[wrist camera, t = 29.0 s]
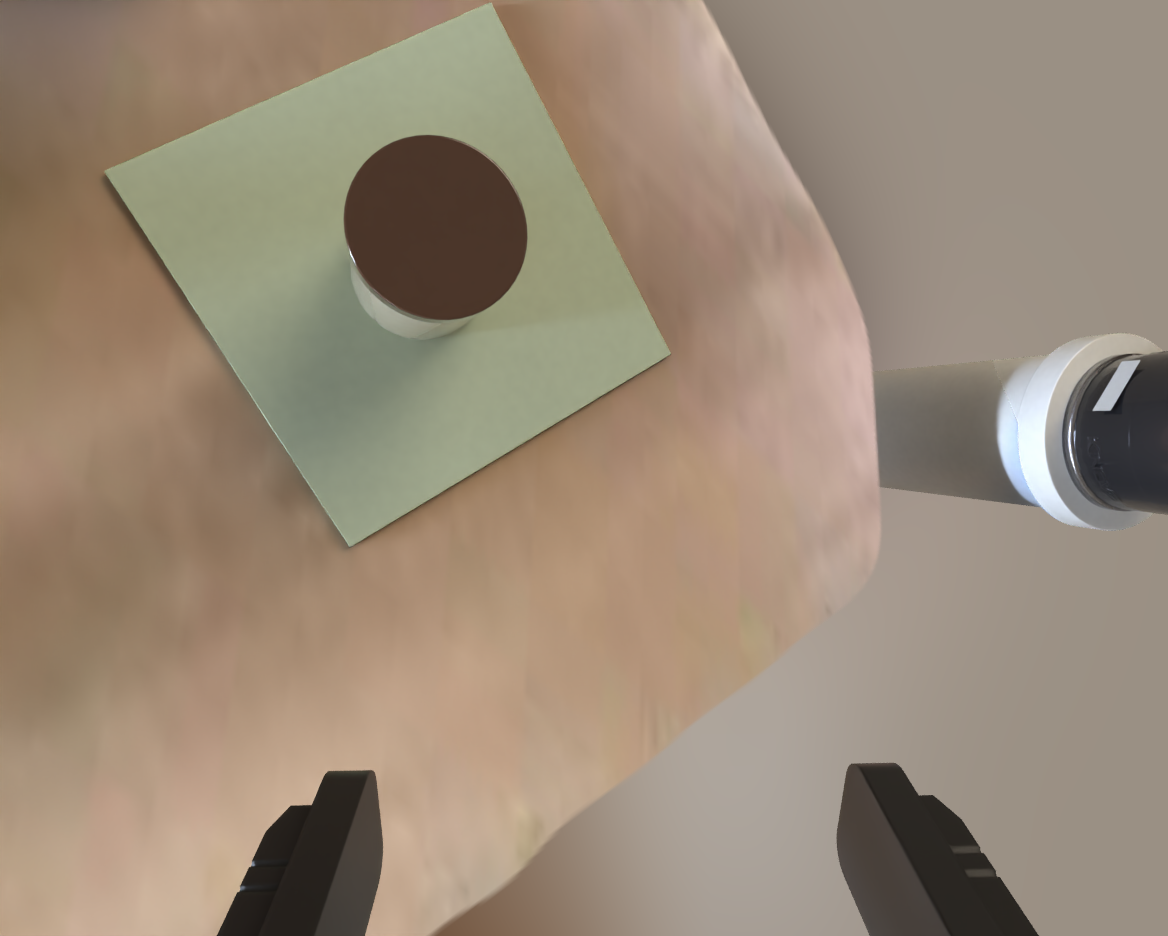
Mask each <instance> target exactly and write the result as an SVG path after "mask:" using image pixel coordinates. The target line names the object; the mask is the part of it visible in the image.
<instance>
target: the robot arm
mask: <svg viewBox="0 0 1168 936" xmlns="http://www.w3.org/2000/svg"><path fill="white" fill-rule="evenodd" d="M1062 448H1063V455H1064V460H1065V464H1066V467H1067V470H1068V473H1069V475H1070V478H1071V480H1072V481H1073V483H1074V485H1075V486H1076V488H1077V489H1078V491H1079V492H1080V493H1081V494H1082V495H1083V496H1084V497H1085V498H1086V499H1087V500H1088V501H1090V502H1091V503H1093V504H1094V505H1096V506H1098V507H1101V508H1104V509H1108V510H1116V511H1141V512H1149V513H1158V514H1166V515H1168V351H1164V352H1153V353H1150V354H1137V353H1132V354H1120V355H1114V356H1110V357H1107V358H1105V359H1103V360H1101V361H1099V362H1097V363H1096V364H1095V365H1093V366H1092V367H1091V368H1090V369H1089V370H1088V371H1087V372H1086V373H1085V374H1084V375H1083V376H1082V377H1081V379H1080V380H1079V382H1078V383H1077V384H1076V386H1075V388H1074V390H1073V392H1072V394H1071V396H1070V398H1069V401H1068V404H1067V407H1066V410H1065V414H1064V419H1063V427H1062ZM837 850H838V856H839V862H840V866H841V869H842V872H843V874H844V877H845V879H846V881H847V884H848V886H849V889H850V891H851V893H852V896H853V898H854V900H855V903H856V905H857V907H858V910H859V912H860V914H861V916H862V919H863V921H864V923H865V926H866V928H867V930H868V933H869V935H870V936H1039V935H1038V934H1037V932H1036V931H1035V930H1034V928H1033V926H1032V925H1031V923H1030V922H1029V920H1028V919H1027V917H1026V916H1025V915H1024V913H1023V911H1022V910H1021V908H1020V907H1019V905H1018V904H1017V902H1016V901H1015V899H1014V898H1013V897H1012V895H1011V894H1010V892H1009V890H1008V889H1007V887H1006V886H1005V884H1004V883H1003V881H1002V880H1001V878H1000V877H997V876H996V871H995V869H994V868H993V866H992V865H991V863H990V862H989V860H988V859H987V857H986V856H985V854H984V853H981V851H980V847H979V845H978V844H977V842H976V841H975V839H974V838H973V836H972V835H971V833H970V832H969V830H968V829H967V827H966V826H965V824H964V822H963V821H962V820H961V819H960V818H959V817H958V816H957V815H956V814H954V813H953V812H952V811H951V810H950V809H948V808H947V807H946V806H945V805H944V804H943V803H942V802H940V801H939V800H938V799H937V798H935V797H934V796H933V795H923V796H919V795H918V794H917V792H916V791H915V789H914V787H913V786H912V784H911V783H910V781H909V779H908V778H907V776H906V774H905V773H904V771H903V770H902V768H901V767H900V766H899V765H897V764H896V763H866V764H851V765H850V766H849V767H848V769H847V773H846V778H845V784H844V791H843V797H842V803H841V810H840V816H839V823H838V828H837ZM382 857H383V838H382V828H381V819H380V810H379V800H378V791H377V781H376V776H375V773H374V771H372V770H365V771H328V772H327V773H326V774H325V776H324V778H323V780H322V782H321V784H320V787H319V789H318V792H317V794H316V797H315V799H314V801H313V804H312V805H302V806H290V807H289V808H288V809H287V810H286V811H285V812H284V813H283V814H282V815H281V816H280V817H279V819H278V820H277V821H276V822H275V823H274V824H273V825H272V826H271V827H270V828H269V829H268V830H267V831H266V832H265V835H264V837H263V839H262V841H261V843H260V845H259V847H258V849H257V852H256V854H255V856H254V858H253V860H252V866H251V867H249V869H248V871H247V873H246V875H245V877H244V879H243V881H242V884H241V886H240V892H237V894H236V896H235V898H234V901H233V903H232V905H231V907H230V909H229V911H228V913H227V916H226V918H225V920H224V922H223V924H222V926H221V928H220V930H219V933H218V935H217V936H365V933H366V929H367V925H368V922H369V918H370V914H371V910H372V907H373V903H374V899H375V895H376V892H377V888H378V884H379V879H380V874H381V867H382Z"/></svg>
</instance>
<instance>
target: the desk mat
mask: <svg viewBox="0 0 1168 936" xmlns="http://www.w3.org/2000/svg"><path fill="white" fill-rule="evenodd" d="M416 135H439V136H444V137H449V138H453V139H456V140H459V141H462V142H465V143H467V144H469V145H471V146H473V147H475V148H477V149H478V150H480V151H481V152H483V153H484V154H486V155H487V156H488V157H489V158H491V159H492V160H493V161H494V162H495V163H496V164H497V165H498V166H499V167H500V168H501V169H502V170H503V171H504V173H505V174H506V175H507V177H508V178H509V179H510V181H511V182H512V184H513V186H514V187H515V189H516V191H517V193H518V195H519V197H520V200H521V202H522V205H523V208H524V212H525V216H526V222H527V233H528V240H527V250H526V255H525V260H524V263H523V266H522V268H521V271H520V273H519V275H518V277H517V279H516V281H515V282H514V284H513V285H512V286H511V288H510V289H509V291H508V292H507V293H506V294H505V295H504V296H503V297H502V298H501V299H500V300H499V301H498V302H496V303H495V304H494V305H493V306H491V307H490V308H489V309H487V310H486V311H484V312H482V313H481V314H479V315H477V316H474V317H473V318H472V319H471V320H470V321H469V322H467V323H466V324H465V325H464V326H463V327H461V328H460V329H458V330H457V331H455V332H453V333H451V334H449V335H447V336H444V337H440V338H436V339H429V340H418V339H410V338H406V337H402V336H399V335H397V334H394V333H392V332H390V331H388V330H387V329H385V328H383V327H382V326H381V325H379V324H378V323H377V322H376V321H374V320H373V319H372V318H371V317H370V316H369V315H368V313H367V312H366V311H365V310H364V308H363V307H362V305H361V304H360V302H359V300H358V298H357V296H356V294H355V291H354V288H353V285H352V281H351V276H350V257H349V254H348V251H347V247H346V242H345V237H344V221H343V217H344V205H345V201H346V196H347V193H348V190H349V187H350V185H351V182H352V180H353V178H354V177H355V175H356V173H357V171H358V170H359V169H360V167H361V166H362V165H363V164H364V162H365V161H366V160H367V159H368V158H369V157H370V156H371V155H372V154H374V153H375V152H376V151H378V150H379V149H381V148H382V147H384V146H386V145H388V144H390V143H391V142H394V141H396V140H399V139H402V138H406V137H411V136H416ZM104 172H105V174H106V175H107V177H108V178H109V180H110V181H111V183H112V184H113V186H114V187H115V189H116V190H117V192H118V193H119V195H120V197H121V198H122V200H123V201H124V203H125V204H126V206H127V207H128V209H129V210H130V212H131V213H132V215H133V216H134V218H135V220H136V221H137V223H138V224H139V226H140V227H141V229H142V230H143V232H144V233H145V235H146V236H147V238H148V239H149V241H150V242H151V244H152V246H153V247H154V249H155V250H156V252H157V253H158V255H159V256H160V258H161V259H162V261H163V262H164V264H165V265H166V267H167V269H168V270H169V272H170V273H171V275H172V276H173V278H174V279H175V281H176V282H177V284H178V285H179V287H180V288H181V290H182V291H183V293H184V295H185V296H186V298H187V299H188V301H189V302H190V304H191V305H192V307H193V308H194V310H195V311H196V313H197V314H198V316H199V318H200V319H201V321H202V322H203V324H204V325H205V327H206V328H207V330H208V331H209V333H210V334H211V336H212V337H213V339H214V340H215V342H216V344H217V345H218V347H219V348H220V350H221V351H222V353H223V354H224V356H225V357H226V359H227V360H228V362H229V363H230V365H231V367H232V368H233V370H234V371H235V373H236V374H237V376H238V377H239V379H240V380H241V382H242V383H243V385H244V386H245V388H246V389H247V391H248V393H249V394H250V396H251V397H252V399H253V400H254V402H255V403H256V405H257V406H258V408H259V409H260V411H261V412H262V414H263V416H264V417H265V419H266V420H267V422H268V423H269V425H270V426H271V428H272V429H273V431H274V432H275V434H276V435H277V437H278V438H279V440H280V442H281V443H282V445H283V446H284V448H285V449H286V451H287V452H288V454H289V455H290V457H291V458H292V460H293V461H294V463H295V465H296V466H297V468H298V469H299V471H300V472H301V474H302V475H303V477H304V478H305V480H306V481H307V483H308V484H309V486H310V487H311V489H312V491H313V492H314V494H315V495H316V497H317V498H318V500H319V501H320V503H321V504H322V506H323V507H324V509H325V510H326V512H327V514H328V515H329V517H330V518H331V520H332V521H333V523H334V524H335V526H336V527H337V529H338V530H339V532H340V533H341V535H342V536H343V538H344V540H345V541H346V543H347V544H348V546H349V547H351V546H353V545H355V544H356V543H358V542H360V541H361V540H363V539H365V538H366V537H368V536H370V535H371V534H373V533H375V532H376V531H378V530H380V529H381V528H383V527H385V526H386V525H388V524H390V523H391V522H393V521H395V520H396V519H398V518H400V517H401V516H403V515H405V514H406V513H408V512H410V511H411V510H413V509H415V508H416V507H418V506H420V505H421V504H423V503H425V502H426V501H428V500H430V499H431V498H433V497H435V496H436V495H438V494H440V493H441V492H443V491H445V490H446V489H448V488H450V487H451V486H453V485H455V484H456V483H458V482H460V481H461V480H463V479H465V478H466V477H468V476H469V475H471V474H473V473H474V472H476V471H478V470H479V469H481V468H483V467H484V466H486V465H488V464H489V463H491V462H493V461H494V460H496V459H498V458H499V457H501V456H503V455H504V454H506V453H508V452H509V451H511V450H513V449H514V448H516V447H518V446H519V445H521V444H523V443H524V442H526V441H528V440H529V439H531V438H533V437H534V436H536V435H538V434H539V433H541V432H543V431H544V430H546V429H548V428H549V427H551V426H553V425H554V424H556V423H558V422H559V421H561V420H563V419H564V418H566V417H568V416H569V415H571V414H573V413H574V412H576V411H578V410H579V409H581V408H583V407H584V406H586V405H587V404H589V403H591V402H592V401H594V400H596V399H597V398H599V397H601V396H602V395H604V394H606V393H607V392H609V391H611V390H612V389H614V388H616V387H617V386H619V385H621V384H622V383H624V382H626V381H627V380H629V379H631V378H632V377H634V376H636V375H637V374H639V373H641V372H642V371H644V370H646V369H647V368H649V367H651V366H652V365H654V364H656V363H657V362H659V361H661V360H662V359H664V358H666V357H667V356H669V355H671V353H670V351H669V349H668V347H667V345H666V343H665V341H664V339H663V337H662V335H661V333H660V331H659V330H658V328H657V326H656V324H655V322H654V320H653V318H652V316H651V314H650V312H649V310H648V308H647V306H646V304H645V302H644V300H643V298H642V296H641V294H640V292H639V290H638V289H637V287H636V285H635V283H634V281H633V279H632V277H631V275H630V273H629V271H628V269H627V267H626V265H625V263H624V261H623V259H622V257H621V255H620V253H619V251H618V249H617V248H616V246H615V244H614V242H613V240H612V238H611V236H610V234H609V232H608V230H607V228H606V226H605V224H604V222H603V220H602V218H601V216H600V214H599V212H598V210H597V208H596V207H595V205H594V203H593V201H592V199H591V197H590V195H589V193H588V191H587V189H586V187H585V185H584V183H583V181H582V179H581V177H580V175H579V173H578V171H577V169H576V167H575V166H574V164H573V162H572V160H571V158H570V156H569V154H568V152H567V150H566V148H565V146H564V144H563V142H562V140H561V138H560V136H559V134H558V132H557V130H556V128H555V126H554V125H553V123H552V121H551V119H550V117H549V115H548V113H547V111H546V109H545V107H544V105H543V103H542V101H541V99H540V97H539V95H538V93H537V91H536V89H535V87H534V85H533V84H532V82H531V80H530V78H529V76H528V74H527V72H526V70H525V68H524V66H523V64H522V62H521V60H520V58H519V56H518V54H517V52H516V50H515V48H514V46H513V44H512V43H511V41H510V39H509V37H508V35H507V33H506V31H505V29H504V27H503V25H502V23H501V21H500V19H499V17H498V15H497V13H496V11H495V9H494V7H493V5H492V4H491V2H490V3H488V4H485V5H483V6H481V7H478V8H476V9H474V10H472V11H469V12H467V13H465V14H462V15H460V16H458V17H456V18H453V19H451V20H449V21H446V22H444V23H442V24H440V25H437V26H435V27H433V28H430V29H428V30H426V31H424V32H421V33H419V34H417V35H414V36H412V37H410V38H407V39H405V40H403V41H401V42H398V43H396V44H394V45H391V46H389V47H387V48H385V49H382V50H380V51H378V52H375V53H373V54H371V55H369V56H366V57H364V58H362V59H359V60H357V61H355V62H352V63H350V64H348V65H346V66H343V67H341V68H339V69H336V70H334V71H332V72H330V73H327V74H325V75H323V76H320V77H318V78H316V79H314V80H311V81H309V82H307V83H304V84H302V85H300V86H297V87H295V88H293V89H291V90H288V91H286V92H284V93H281V94H279V95H277V96H275V97H272V98H270V99H268V100H265V101H263V102H261V103H259V104H256V105H254V106H252V107H249V108H247V109H245V110H242V111H240V112H238V113H236V114H233V115H231V116H229V117H226V118H224V119H222V120H220V121H217V122H215V123H213V124H210V125H208V126H206V127H204V128H201V129H199V130H197V131H194V132H192V133H190V134H187V135H185V136H183V137H181V138H178V139H176V140H174V141H171V142H169V143H167V144H165V145H162V146H160V147H158V148H155V149H153V150H151V151H149V152H146V153H144V154H142V155H139V156H137V157H135V158H132V159H130V160H128V161H126V162H123V163H121V164H119V165H116V166H114V167H112V168H110V169H107V170H105V171H104Z"/></svg>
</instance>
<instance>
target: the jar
mask: <svg viewBox="0 0 1168 936" xmlns="http://www.w3.org/2000/svg"><path fill="white" fill-rule="evenodd" d="M343 221H344V237H345V242H346V247H347V251H348V254H349V257H350V276H351V281H352V285H353V288H354V291H355V294H356V296H357V298H358V300H359V302H360V304H361V305H362V307H363V308H364V310H365V311H366V312H367V313H368V315H369V316H370V317H371V318H372V319H373V320H374V321H376V322H377V323H378V324H379V325H381V326H382V327H383V328H385V329H387V330H388V331H390V332H392V333H394V334H397V335H399V336H402V337H406V338H410V339H418V340H429V339H436V338H440V337H444V336H447V335H449V334H451V333H453V332H455V331H457V330H458V329H460V328H461V327H463V326H464V325H465V324H466V323H467V322H469V321H470V320H471V319H472V318H473V317H474V316H477V315H479V314H481V313H482V312H484V311H486V310H487V309H489V308H490V307H491V306H493V305H494V304H495V303H496V302H498V301H499V300H500V299H501V298H502V297H503V296H504V295H505V294H506V293H507V292H508V291H509V289H510V288H511V286H512V285H513V284H514V282H515V281H516V279H517V277H518V275H519V273H520V271H521V268H522V266H523V263H524V260H525V255H526V250H527V240H528V233H527V222H526V216H525V212H524V208H523V205H522V202H521V200H520V197H519V195H518V193H517V191H516V189H515V187H514V186H513V184H512V182H511V181H510V179H509V178H508V177H507V175H506V174H505V173H504V171H503V170H502V169H501V168H500V167H499V166H498V165H497V164H496V163H495V162H494V161H493V160H492V159H491V158H489V157H488V156H487V155H486V154H484V153H483V152H481V151H480V150H478V149H477V148H475V147H473V146H471V145H469V144H467V143H465V142H462V141H459V140H456V139H453V138H449V137H444V136H439V135H416V136H411V137H406V138H402V139H399V140H396V141H394V142H391V143H390V144H388V145H386V146H384V147H382V148H381V149H379V150H378V151H376V152H375V153H374V154H372V155H371V156H370V157H369V158H368V159H367V160H366V161H365V162H364V164H363V165H362V166H361V167H360V169H359V170H358V171H357V173H356V175H355V177H354V178H353V180H352V182H351V185H350V187H349V190H348V193H347V196H346V201H345V205H344V217H343Z"/></svg>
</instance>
